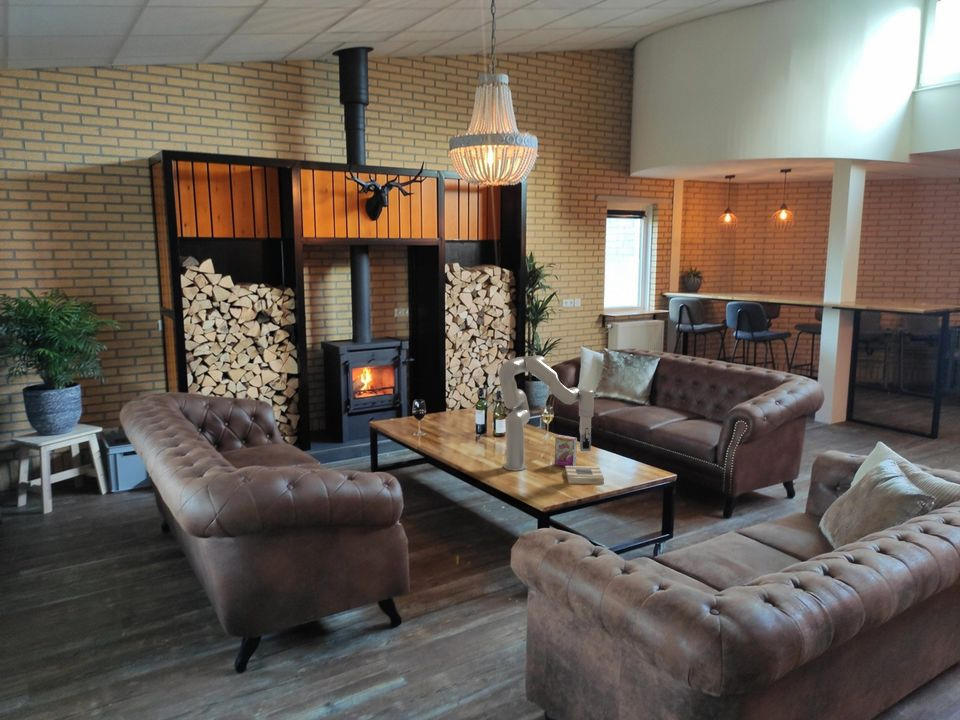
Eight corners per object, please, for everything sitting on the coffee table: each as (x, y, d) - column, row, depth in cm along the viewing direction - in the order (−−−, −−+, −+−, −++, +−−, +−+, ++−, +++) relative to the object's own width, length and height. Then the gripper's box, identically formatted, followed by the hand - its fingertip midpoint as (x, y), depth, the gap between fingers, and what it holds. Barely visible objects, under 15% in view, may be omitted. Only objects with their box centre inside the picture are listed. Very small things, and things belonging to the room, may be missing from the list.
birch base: (565, 471, 385) (565, 465, 385) (598, 471, 385) (598, 466, 384) (568, 483, 365) (568, 477, 365) (603, 483, 365) (604, 477, 364)
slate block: (579, 448, 375) (580, 433, 374) (589, 448, 375) (589, 433, 374) (581, 451, 370) (581, 436, 369) (590, 451, 370) (591, 436, 369)
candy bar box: (554, 465, 396) (555, 436, 393) (558, 462, 400) (558, 434, 397) (572, 468, 390) (573, 439, 387) (576, 466, 394) (577, 437, 392)
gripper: (577, 409, 378) (576, 442, 381) (580, 416, 361) (579, 451, 364) (591, 409, 378) (590, 442, 381) (595, 417, 361) (594, 451, 364)
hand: (585, 446), depth 372 cm, fingers closed on slate block, 5 cm apart
